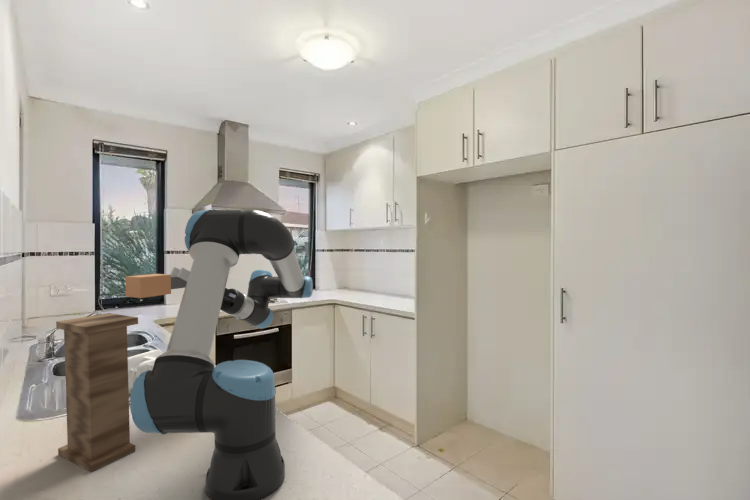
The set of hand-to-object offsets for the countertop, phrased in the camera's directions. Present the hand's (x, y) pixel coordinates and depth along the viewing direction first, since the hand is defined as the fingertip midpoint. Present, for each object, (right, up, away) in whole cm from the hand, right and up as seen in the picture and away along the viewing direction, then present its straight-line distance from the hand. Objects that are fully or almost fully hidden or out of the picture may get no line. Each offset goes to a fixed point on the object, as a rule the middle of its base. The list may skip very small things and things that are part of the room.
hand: (176, 272), depth 106 cm
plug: (-1, -5, -2) cm, 6 cm away
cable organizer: (-17, -39, +19) cm, 47 cm away
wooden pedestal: (-9, -40, -17) cm, 45 cm away
